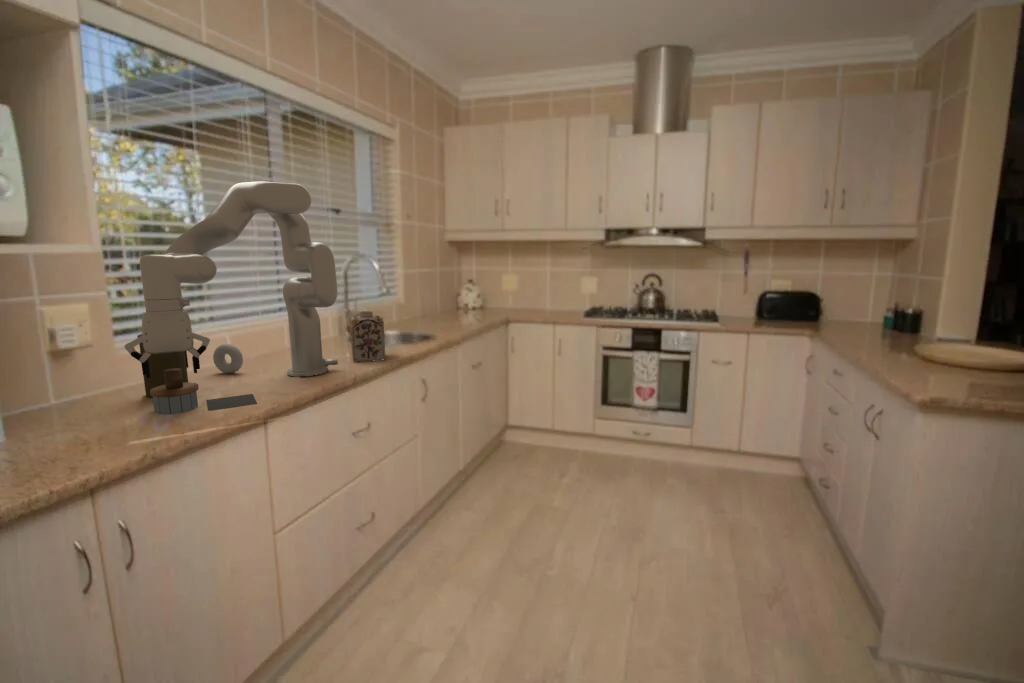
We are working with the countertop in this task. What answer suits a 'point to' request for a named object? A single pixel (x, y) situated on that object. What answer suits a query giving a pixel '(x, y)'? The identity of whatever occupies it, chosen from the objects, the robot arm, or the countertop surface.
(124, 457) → the countertop surface
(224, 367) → the donut
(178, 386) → the lid
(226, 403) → the mat
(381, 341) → the decorative jar
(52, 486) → the countertop surface
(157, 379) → the canister
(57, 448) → the countertop surface
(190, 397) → the grey short cylinder
